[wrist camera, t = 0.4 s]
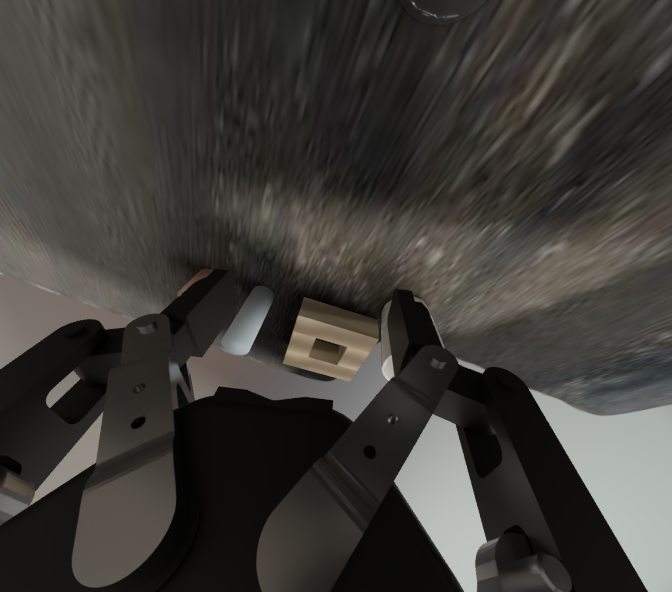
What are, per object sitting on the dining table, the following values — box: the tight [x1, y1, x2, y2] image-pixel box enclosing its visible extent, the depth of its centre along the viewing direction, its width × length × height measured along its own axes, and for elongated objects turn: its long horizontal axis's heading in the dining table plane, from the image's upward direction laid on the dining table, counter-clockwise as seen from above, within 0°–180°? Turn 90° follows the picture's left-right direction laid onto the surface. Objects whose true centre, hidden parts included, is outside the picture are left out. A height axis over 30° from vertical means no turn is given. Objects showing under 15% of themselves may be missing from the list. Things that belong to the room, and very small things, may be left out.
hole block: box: [283, 297, 379, 381], centre depth 38 cm, size 12×12×4 cm
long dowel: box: [221, 286, 274, 355], centre depth 32 cm, size 3×3×10 cm
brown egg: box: [178, 269, 213, 297], centre depth 33 cm, size 3×3×5 cm
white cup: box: [381, 297, 445, 381], centre depth 32 cm, size 8×8×10 cm
